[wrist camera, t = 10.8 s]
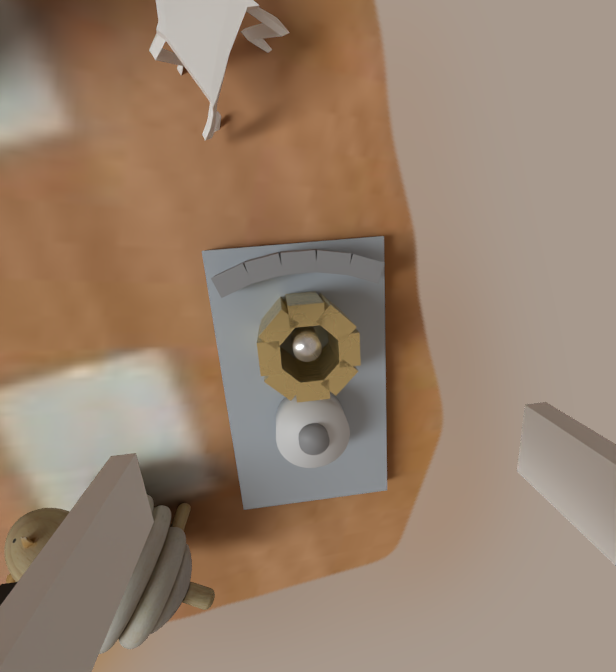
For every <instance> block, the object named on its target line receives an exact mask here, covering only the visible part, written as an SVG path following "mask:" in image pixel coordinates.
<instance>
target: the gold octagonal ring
mask: <svg viewBox="0 0 616 672" xmlns="http://www.w3.org/2000/svg"><path fill="white" fill-rule="evenodd" d="M285 297H286V301H285V300H283V299H282V298H281V297H279V299H278V300H277V301H276V302H275V304H274V305H273V306H272V307H271V308H270V310H269V311H268V312H267V313H266V314H265V316H264V317H263V318H262V319H261V324H260V326H259V332H258V338H257V350H258V358H259V366H260V374H261V376H264V382H265V383H266V384H268V385H269V386H271V387H272V388H273V389H275V390H276V391H278V392H279V393H280V394H282V395H283V396H284V397H286V398H287V399H289V400H290V401H291V400H292V399H293V398H294V397H295V396H296V399H297V403H298V402H307V401H315V400H324V399H330V392H332V393H333V394H334V395H337V394H338V393H339V392H340V391H341V390H342V389H343V388H344V387H345V386H346V384H347V383H348V382H349V381H350V380H351V379H352V378H353V377H354V376H355V375H356V374H357V372H358V370H357V368H356V367H355V366H360V365H361V359H360V333H359V331H358V330H357V329H356V325H355V324H354V323H353V322H352V321H351V320H350V319H349V318H348V317H347V316H346V315H345V314H344V313H343V312H342V311H341V310H340V309H339V308H338V307H336V306H335V305H334V304H333V303H332V302H331V301H329V300H328V299H327V298H326V297H325V296H324V295H322V294H321V293H320V294H319V295H318V294H317V293H316V292H315V291H313V292H302V293H291V294H285ZM317 325H320V326H322V327H323V328H324V329H325V330H326V331H328V343H327V344H326V345H325V346H324V347H323V348H322V349H321V353H320V355H319V356H318V357H317V358H316V359H315V360H313V361H310V362H304V361H301V360H299V359H298V358H295V357H293V356H292V355H291V354H290V353H288V352H287V351H286V350H284V349H283V348H282V347H281V344H282V343H283V342H284V340H285V339H286V338H287V337H288V336H289V335H290V333H291V332H292V331H293V330H294V329H295V328H297V327H307V326H317Z"/></svg>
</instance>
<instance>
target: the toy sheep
mask: <svg viewBox="0 0 616 672" xmlns="http://www.w3.org/2000/svg"><path fill="white" fill-rule="evenodd" d="M147 497H148V501H149V505H150V509H151V513H152V516H153V520H154V523H153V526H152V528H151V530H150V533H149V535H148V538H147V540H146V542H145V545H144V547H143V549H142V552H141V554H140V557H139V559H138V561H137V564H136V566H135V569H134V571H133V573H132V576H131V578H130V581H129V583H128V585H127V588H126V590H125V592H124V595H123V597H122V600H121V602H120V604H119V607H118V609H117V612H116V614H115V616H114V619H113V621H112V624H111V626H110V628H109V631H108V633H107V635H106V638H105V640H104V643H103V645H102V647H101V650H100V652H99V654H101V653H104V652H106V651H108V650H109V649H110V648H111V647H112V646H113V645H114V644H115V642H116V641H117V640H118V639H119V642H120V644H121V645H122V646H123V647H124V648H127V649H133V648H136V647H138V646H139V645H141V644H142V643H143V642H144V641H145V640H146V639H147V638H148V636H149V634H152V633H154V632H155V631H157V630H158V629H159V628H161V627H162V626H163V625H164V624H165V623H166V622H167V621H168V620H169V619H170V618H171V617H172V616H173V615H174V613H175V612H176V611H177V609H178V608H179V606H180V605H181V603H182V602H183V603H186V604H189V605H192V606H195V607H198V608H201V609H205V610H206V609H208V608H209V607H211V605H212V603H213V600H214V596H215V594H214V590H213V589H211V588H209V587H206V586H203V585H199V584H197V583H194V582H190V578H191V571H192V560H191V553H190V549H189V546H188V545H187V544H186V535H185V533H184V528H185V525H186V522H187V519H188V516H189V513H190V510H191V507H190V505H189V504H187V503H182V504H180V505H179V506H178V508H177V511H176V513H175V516H174V519H173V522H172V524H171V525H170V521H171V511H170V509H169V508H168V507H167V506H164V505H160V506H157V507H155V508H154V502H153V499H152V497H151V496H149V495H147ZM68 514H69V511H66V510H62V509H57V508H42V509H38V510H34V511H32V512H29V513H27V514H25V515H24V516H22V517H21V518H20V519H19V520H18V521H16V522H15V524H14V525H13V526H12V528H11V529H10V531H9V533H8V535H7V538H6V542H5V561H6V564H7V567H8V569H9V572H10V574H9V575H8V576H7V579H6V583H13V582H18V581H19V580H20V578H21V577H22V576H23V574H24V573H25V572H26V570H27V569H28V568H29V566H30V565H31V564H32V562H33V561H34V560H35V558H36V557H37V555H38V554H39V553H40V551H41V550H42V549H43V547H44V546H45V545H46V543H47V542H48V541H49V539H50V538H51V537H52V535H53V534H54V533H55V531H56V530H57V528H58V527H59V526H60V524H61V523H62V522H63V520H64V519H65V518H66V516H67V515H68ZM169 526H170V527H169Z"/></svg>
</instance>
